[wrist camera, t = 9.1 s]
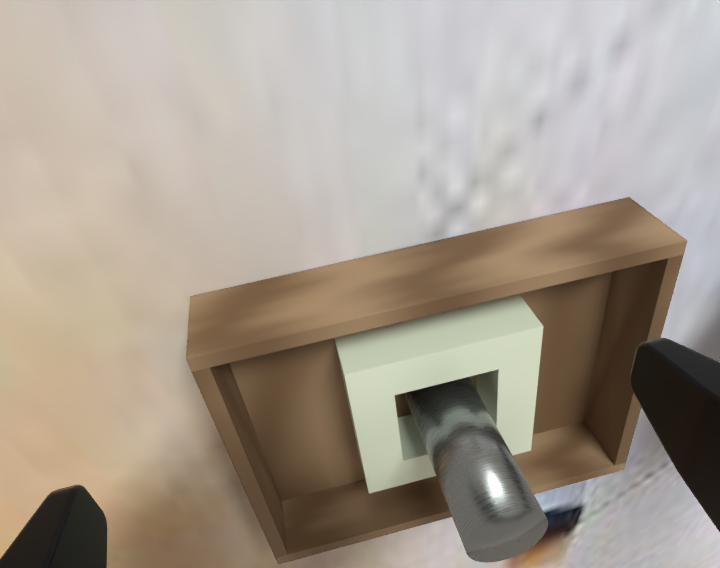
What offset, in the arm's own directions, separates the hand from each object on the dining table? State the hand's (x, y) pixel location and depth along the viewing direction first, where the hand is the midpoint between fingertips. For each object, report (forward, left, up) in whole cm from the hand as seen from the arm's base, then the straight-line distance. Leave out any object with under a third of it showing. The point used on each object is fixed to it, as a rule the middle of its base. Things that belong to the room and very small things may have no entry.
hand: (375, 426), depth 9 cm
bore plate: (-4, +12, -12) cm, 17 cm away
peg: (-4, +12, -11) cm, 17 cm away
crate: (-4, +12, -12) cm, 17 cm away
